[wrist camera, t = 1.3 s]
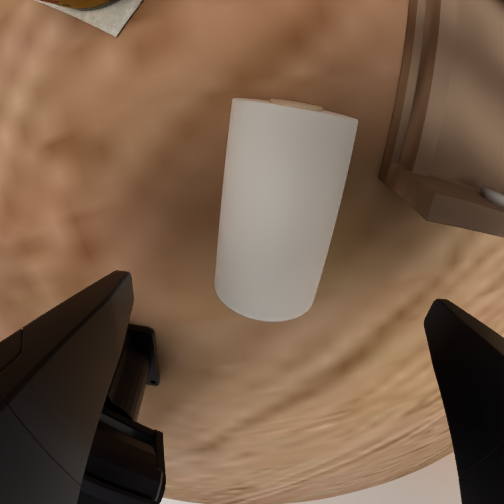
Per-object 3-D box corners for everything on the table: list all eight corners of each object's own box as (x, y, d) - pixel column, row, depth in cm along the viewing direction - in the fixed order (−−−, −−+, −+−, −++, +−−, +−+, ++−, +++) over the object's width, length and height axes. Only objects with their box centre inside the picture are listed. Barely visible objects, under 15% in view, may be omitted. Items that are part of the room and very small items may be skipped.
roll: (305, 267, 19) (321, 327, 14) (218, 259, 19) (209, 319, 14) (339, 108, 14) (379, 122, 10) (235, 92, 14) (229, 95, 9)
